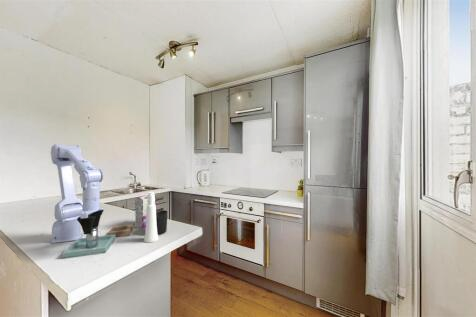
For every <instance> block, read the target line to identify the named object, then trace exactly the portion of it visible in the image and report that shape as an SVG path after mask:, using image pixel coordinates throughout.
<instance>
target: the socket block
mask: <svg viewBox="0 0 476 317" xmlns="http://www.w3.org/2000/svg"><path fill="white" fill-rule="evenodd" d="M133 230H134V224H128V225H127V224H126V225H124V224H123V225H116V226H113V227H111V229H110V230H109V231H108V232H107V235H114V234H116V238H123V237H130V236H131V234H132V232H133Z"/></svg>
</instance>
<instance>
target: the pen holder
mask: <svg viewBox="0 0 476 317" xmlns="http://www.w3.org/2000/svg"><path fill="white" fill-rule="evenodd" d="M156 223H157V233H158V236H160V235H164V234H165V233H166V232H167V230H168V211H167V210H164V209H161V210H158V211H156Z"/></svg>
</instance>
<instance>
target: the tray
mask: <svg viewBox="0 0 476 317" xmlns="http://www.w3.org/2000/svg"><path fill="white" fill-rule="evenodd" d="M116 238H117V237H116V234H114V235H108V234H106V235H98V246H97V247H94V248H90V249H87V248H86V237H80V238H79V239H78V240H75V241H74V242H73V243H71V245H70V246H68V247H67V248H66V249H65V250H64V251H63V252H62V253H61V260H63V259H70V258H78V257H84V256H91V255H99V254H106V253H107V251H108V250H109V249H110V247H111V246H112V244H113V243H114V241H115V240H116Z"/></svg>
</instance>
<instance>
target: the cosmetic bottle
mask: <svg viewBox="0 0 476 317" xmlns="http://www.w3.org/2000/svg"><path fill="white" fill-rule="evenodd" d="M147 195H148V205H147V213H146V228H145V232H144V239H143V242H144V243H147V244H149V243H155V242H156V241H157V242H158V240H159V235H158V233H157V223H156V212H157V208H156V194H155V192H154V191H149V192H148V194H147Z"/></svg>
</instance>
